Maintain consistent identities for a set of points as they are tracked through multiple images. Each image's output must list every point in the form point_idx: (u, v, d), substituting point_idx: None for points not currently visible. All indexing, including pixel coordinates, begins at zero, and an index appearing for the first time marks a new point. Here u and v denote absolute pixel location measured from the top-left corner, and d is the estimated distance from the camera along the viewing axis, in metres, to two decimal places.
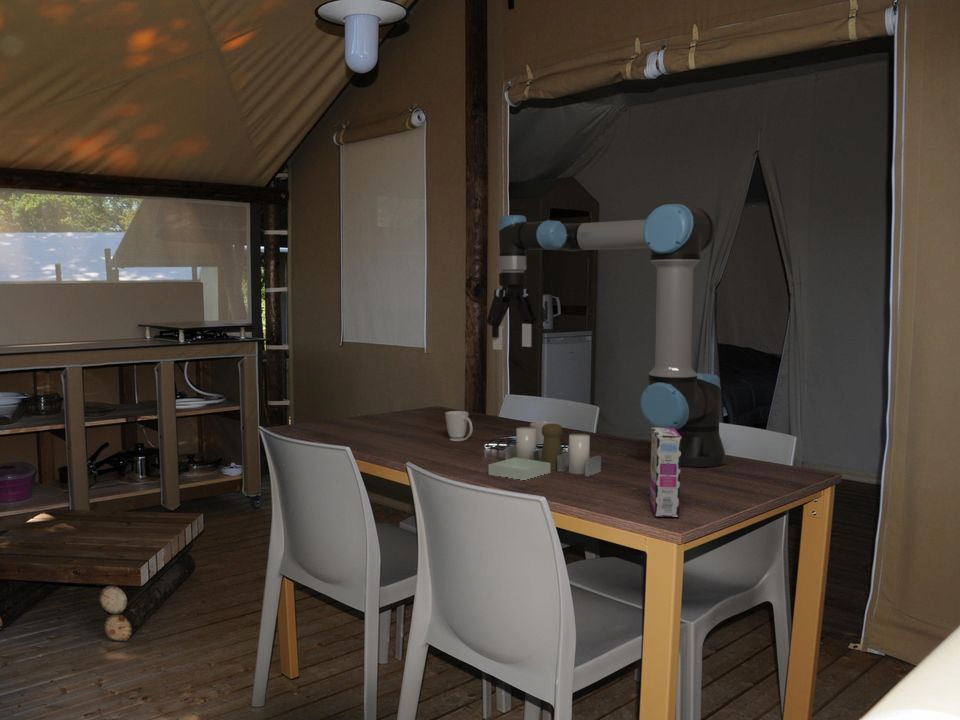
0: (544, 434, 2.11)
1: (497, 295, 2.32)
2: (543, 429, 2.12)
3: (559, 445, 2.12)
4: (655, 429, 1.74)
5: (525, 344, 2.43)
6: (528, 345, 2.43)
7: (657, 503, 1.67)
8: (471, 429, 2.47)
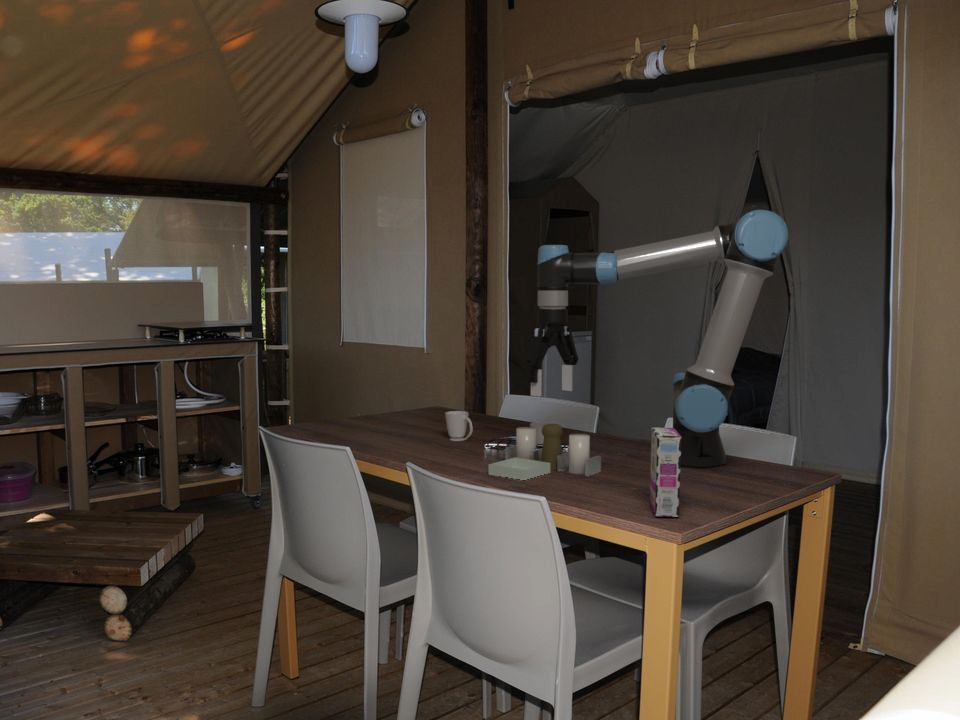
0: (544, 434, 2.11)
1: (536, 335, 2.06)
2: (543, 429, 2.12)
3: (559, 445, 2.12)
4: (655, 429, 1.74)
5: (565, 388, 2.17)
6: (569, 389, 2.17)
7: (657, 503, 1.67)
8: (471, 429, 2.47)
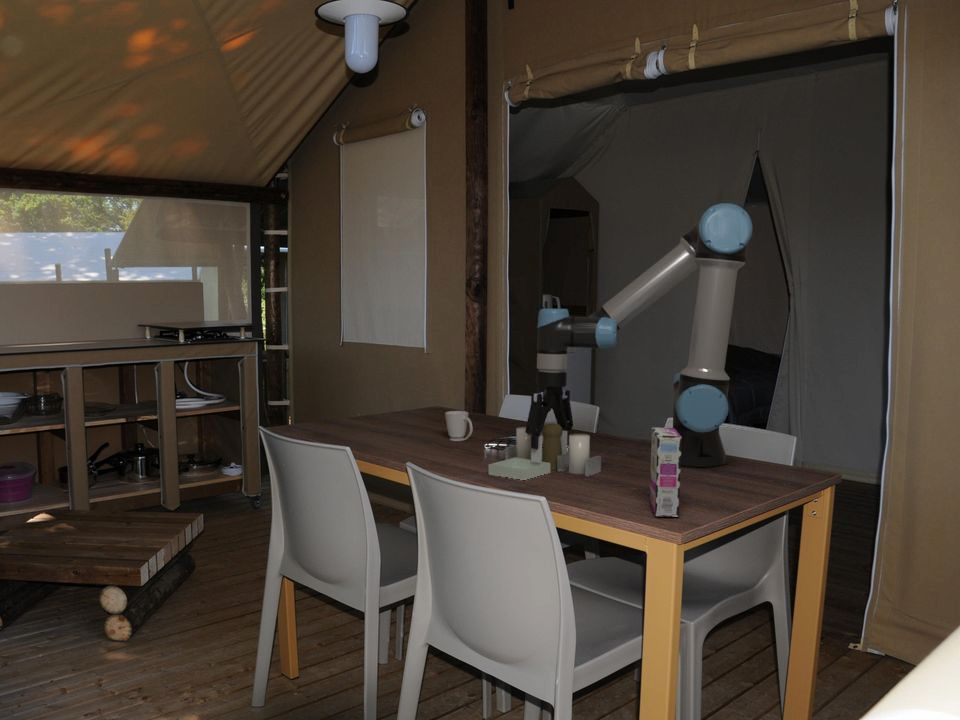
0: (544, 434, 2.11)
1: (535, 401, 2.06)
2: (543, 429, 2.12)
3: (559, 445, 2.12)
4: (655, 429, 1.74)
5: None
6: None
7: (657, 503, 1.67)
8: (471, 429, 2.47)
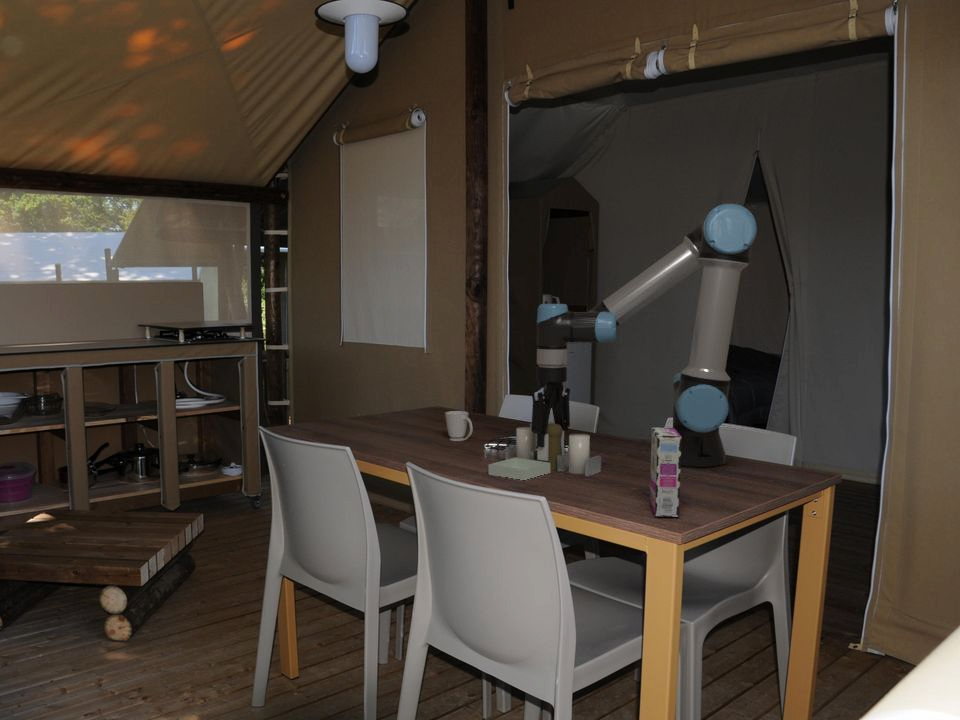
0: None
1: (536, 399, 2.07)
2: None
3: (559, 445, 2.12)
4: (655, 429, 1.74)
5: None
6: None
7: (657, 503, 1.67)
8: (471, 429, 2.47)
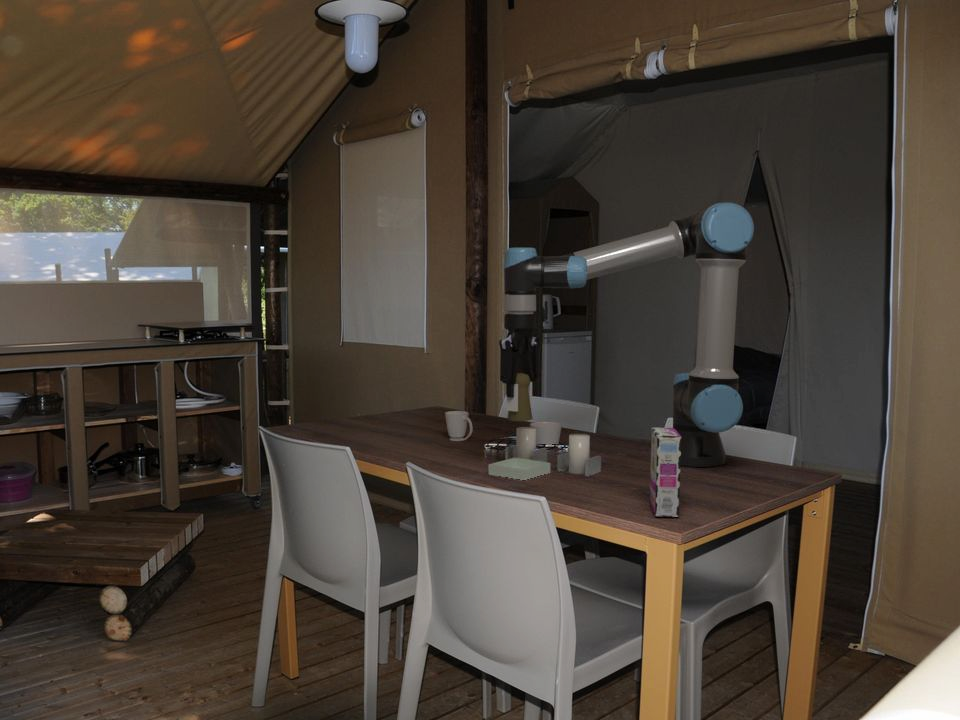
0: None
1: (504, 348, 1.99)
2: None
3: (527, 395, 2.03)
4: (655, 429, 1.74)
5: None
6: None
7: (657, 503, 1.67)
8: (471, 429, 2.47)
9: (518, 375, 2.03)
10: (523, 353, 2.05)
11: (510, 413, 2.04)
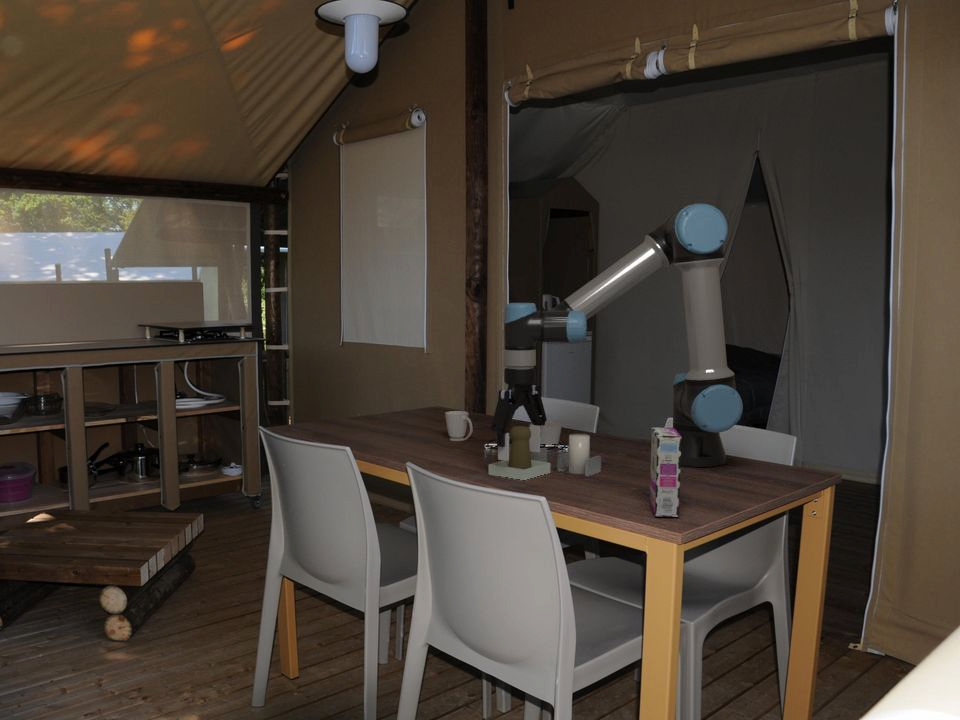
0: (512, 437, 2.05)
1: (502, 397, 1.99)
2: (511, 432, 2.05)
3: (527, 448, 2.05)
4: (655, 429, 1.74)
5: (533, 449, 2.11)
6: (537, 450, 2.10)
7: (657, 503, 1.67)
8: (471, 429, 2.47)
9: (519, 428, 2.04)
10: (526, 404, 2.07)
11: (510, 465, 2.05)
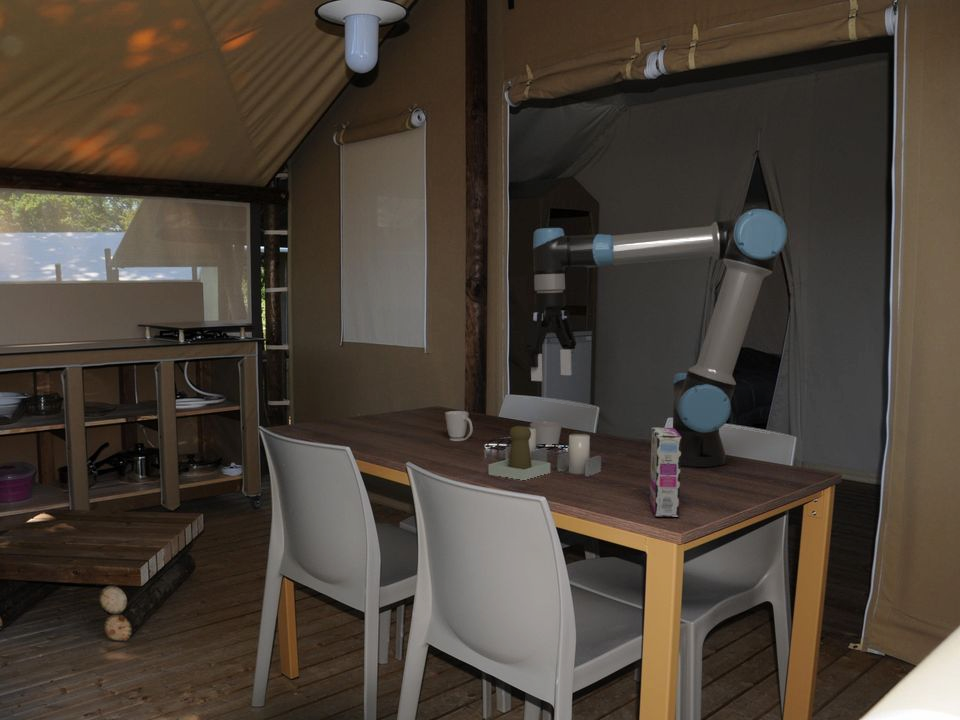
0: (511, 437, 2.05)
1: (535, 319, 2.04)
2: (511, 432, 2.05)
3: (527, 448, 2.05)
4: (655, 429, 1.74)
5: (564, 372, 2.16)
6: (568, 373, 2.15)
7: (657, 503, 1.67)
8: (471, 429, 2.47)
9: (519, 428, 2.04)
10: (556, 329, 2.12)
11: (510, 466, 2.05)
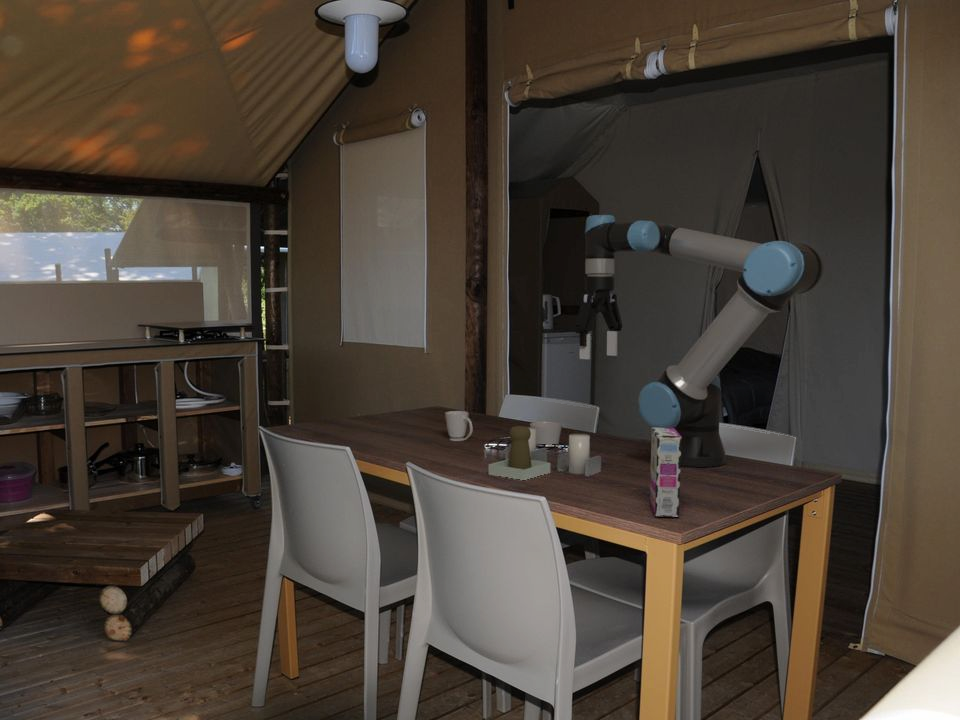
0: (511, 437, 2.05)
1: (585, 301, 2.16)
2: (510, 432, 2.05)
3: (527, 448, 2.05)
4: (655, 429, 1.74)
5: (610, 353, 2.28)
6: (614, 354, 2.27)
7: (657, 503, 1.67)
8: (471, 429, 2.47)
9: (519, 428, 2.04)
10: (604, 311, 2.24)
11: (510, 466, 2.05)
